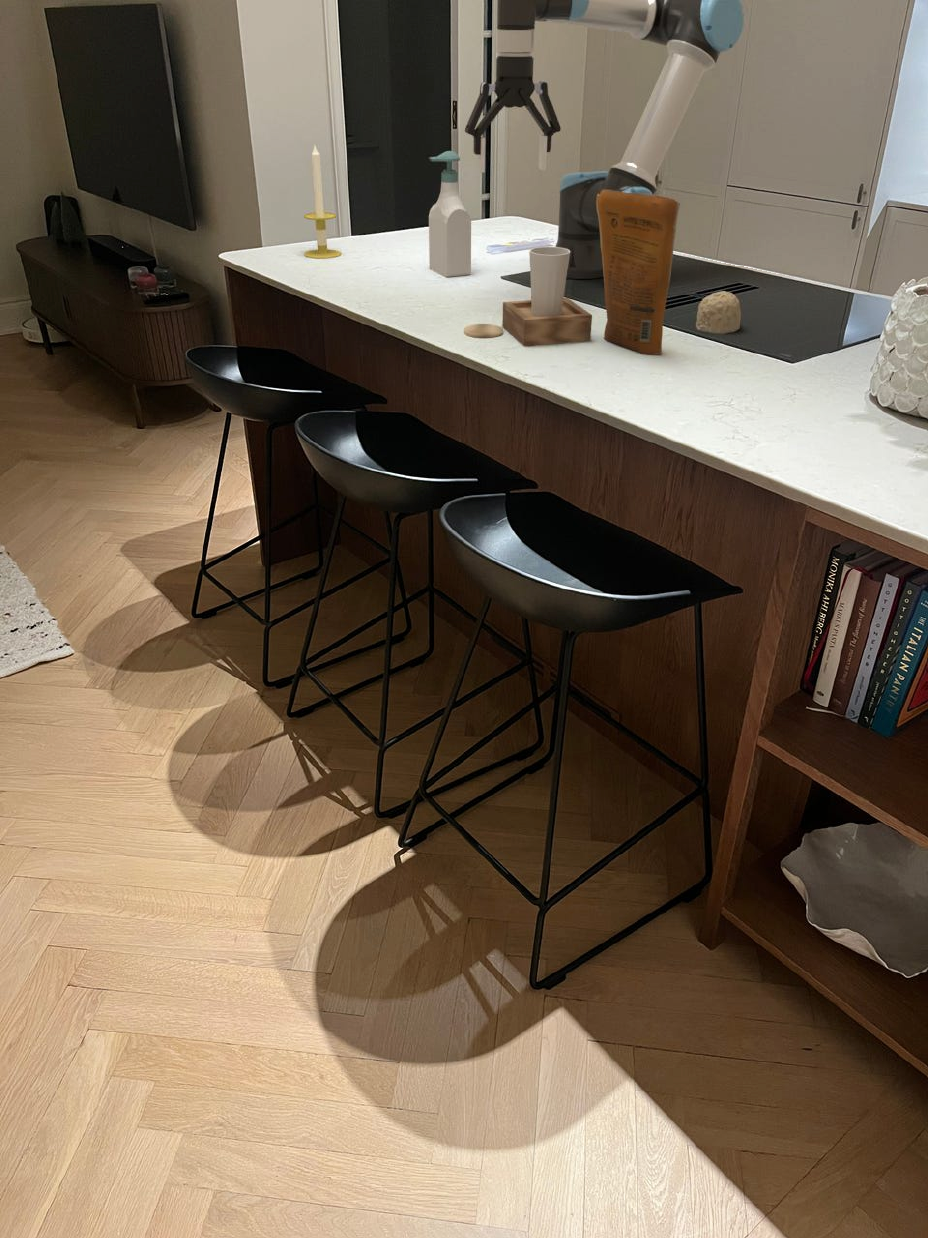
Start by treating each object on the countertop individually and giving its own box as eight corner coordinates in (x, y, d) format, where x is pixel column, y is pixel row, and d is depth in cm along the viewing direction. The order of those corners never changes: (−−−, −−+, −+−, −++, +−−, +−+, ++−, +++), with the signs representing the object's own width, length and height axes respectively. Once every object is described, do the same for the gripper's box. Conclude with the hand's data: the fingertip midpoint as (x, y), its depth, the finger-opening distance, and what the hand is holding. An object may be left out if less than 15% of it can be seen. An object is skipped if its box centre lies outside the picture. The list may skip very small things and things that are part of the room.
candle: (349, 253, 259) (342, 142, 244) (325, 260, 252) (317, 146, 237) (320, 248, 263) (312, 139, 249) (296, 255, 256) (286, 143, 242)
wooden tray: (565, 321, 203) (567, 297, 200) (590, 340, 192) (592, 314, 189) (502, 326, 200) (503, 301, 197) (523, 345, 189) (524, 319, 186)
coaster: (496, 325, 201) (496, 322, 200) (508, 336, 194) (508, 333, 194) (459, 328, 199) (459, 325, 198) (469, 339, 192) (469, 336, 192)
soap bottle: (423, 268, 244) (420, 149, 229) (452, 265, 247) (452, 147, 232) (440, 278, 235) (439, 154, 220) (470, 275, 238) (471, 152, 223)
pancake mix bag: (649, 360, 181) (666, 200, 166) (583, 336, 194) (594, 185, 179) (675, 354, 184) (694, 197, 169) (608, 331, 197) (621, 182, 182)
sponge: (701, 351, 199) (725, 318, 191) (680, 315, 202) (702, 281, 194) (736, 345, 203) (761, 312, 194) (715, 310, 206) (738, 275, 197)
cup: (564, 319, 190) (567, 255, 183) (524, 317, 191) (526, 253, 185) (568, 309, 196) (572, 247, 190) (529, 306, 198) (532, 245, 191)
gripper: (566, 53, 199) (560, 165, 210) (450, 54, 193) (450, 169, 205) (579, 54, 193) (573, 170, 204) (460, 56, 187) (460, 174, 199)
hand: (511, 170), depth 205 cm, fingers open, 13 cm apart
